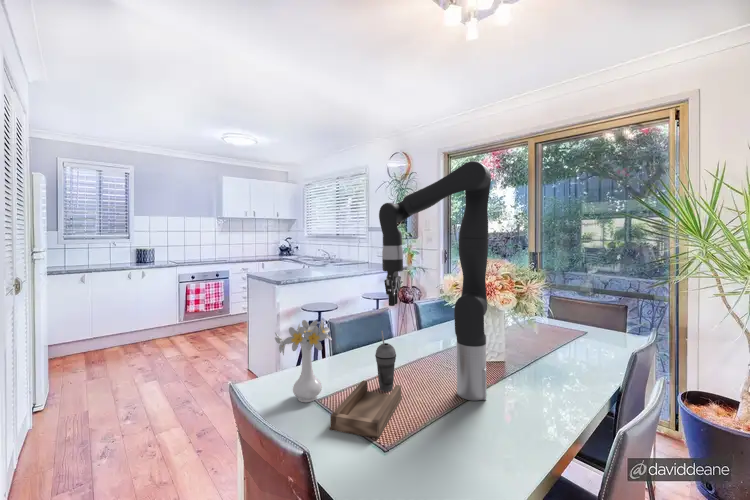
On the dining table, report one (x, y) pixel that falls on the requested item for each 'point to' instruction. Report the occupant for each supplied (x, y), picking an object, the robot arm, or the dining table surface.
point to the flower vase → (306, 357)
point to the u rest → (365, 411)
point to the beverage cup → (385, 365)
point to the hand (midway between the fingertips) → (393, 304)
